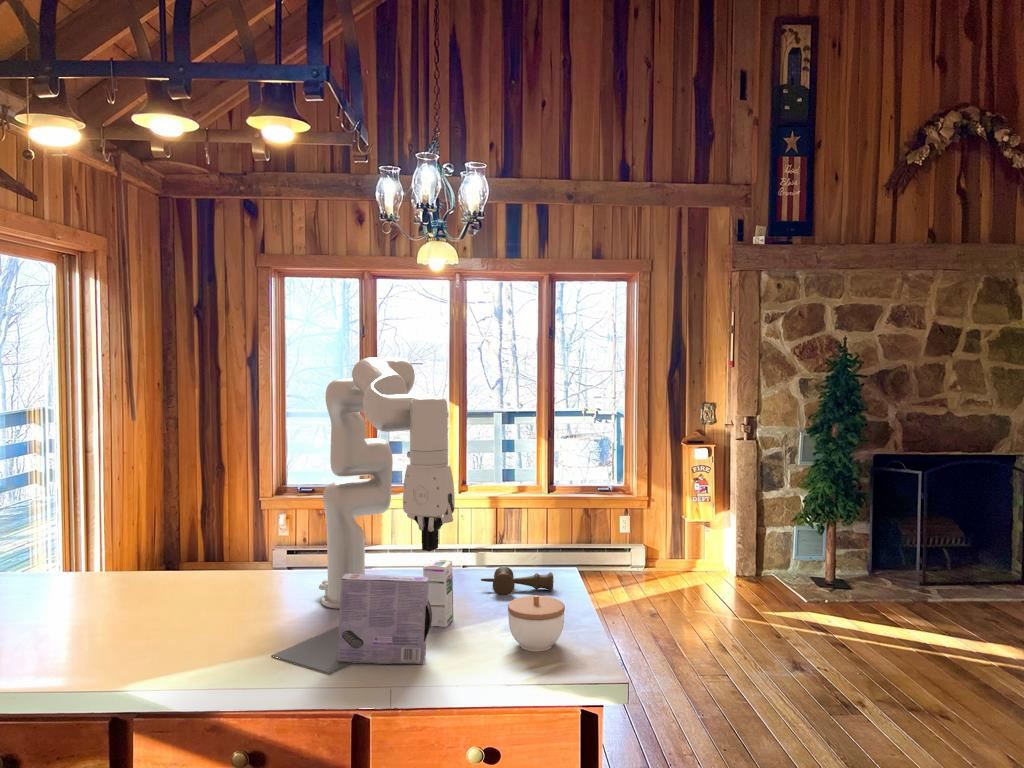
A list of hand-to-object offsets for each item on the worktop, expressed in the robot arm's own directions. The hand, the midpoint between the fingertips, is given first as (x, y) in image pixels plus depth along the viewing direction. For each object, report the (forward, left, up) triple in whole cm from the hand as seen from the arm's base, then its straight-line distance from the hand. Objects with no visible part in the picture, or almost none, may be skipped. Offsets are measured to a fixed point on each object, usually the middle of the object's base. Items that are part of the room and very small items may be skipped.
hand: (430, 549), depth 151 cm
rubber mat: (-26, 0, -25) cm, 36 cm away
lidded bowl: (+11, +24, -26) cm, 37 cm away
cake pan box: (-12, 0, -25) cm, 28 cm away
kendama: (-13, +56, -26) cm, 63 cm away
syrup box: (-16, +24, -26) cm, 39 cm away
